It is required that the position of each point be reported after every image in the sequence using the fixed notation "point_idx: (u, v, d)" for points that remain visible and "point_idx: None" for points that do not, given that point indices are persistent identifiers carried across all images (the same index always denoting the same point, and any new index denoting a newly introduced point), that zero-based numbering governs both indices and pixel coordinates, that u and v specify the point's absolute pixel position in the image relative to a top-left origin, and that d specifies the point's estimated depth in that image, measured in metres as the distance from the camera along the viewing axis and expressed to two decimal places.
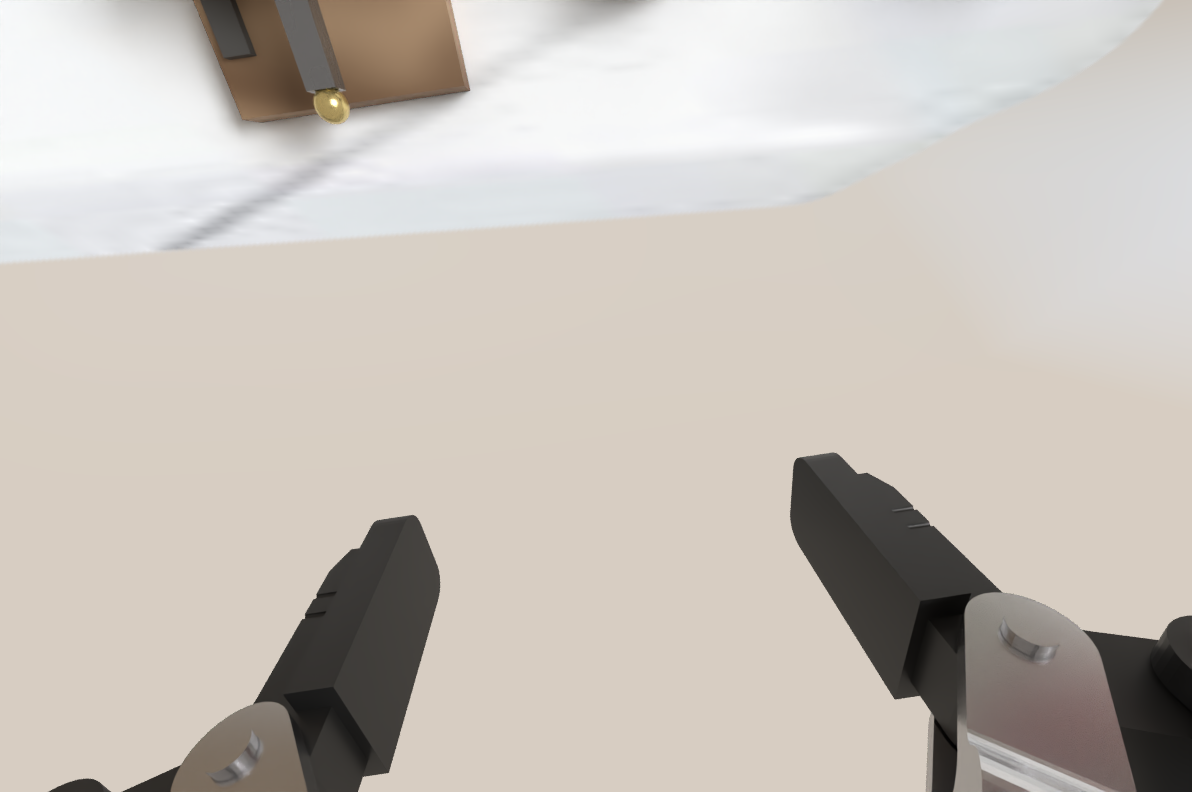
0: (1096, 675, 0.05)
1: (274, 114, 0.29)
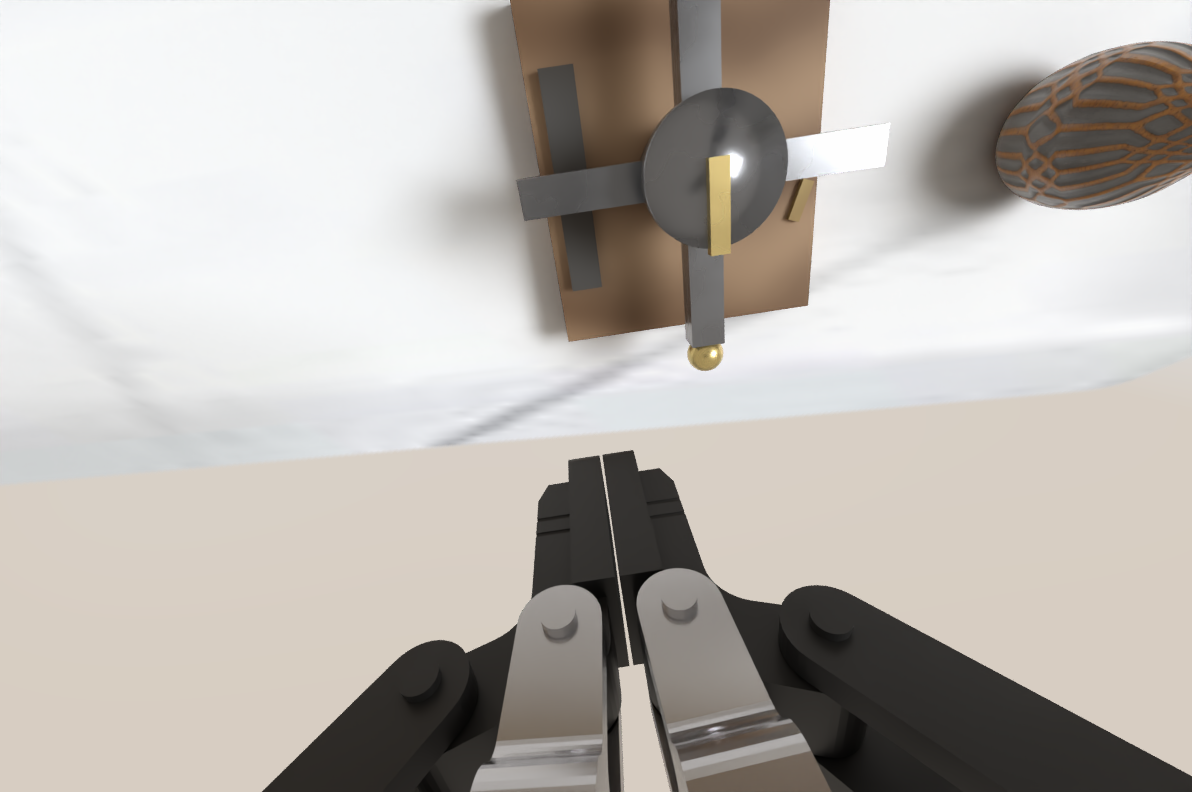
0: (708, 632, 0.06)
1: (602, 335, 0.27)
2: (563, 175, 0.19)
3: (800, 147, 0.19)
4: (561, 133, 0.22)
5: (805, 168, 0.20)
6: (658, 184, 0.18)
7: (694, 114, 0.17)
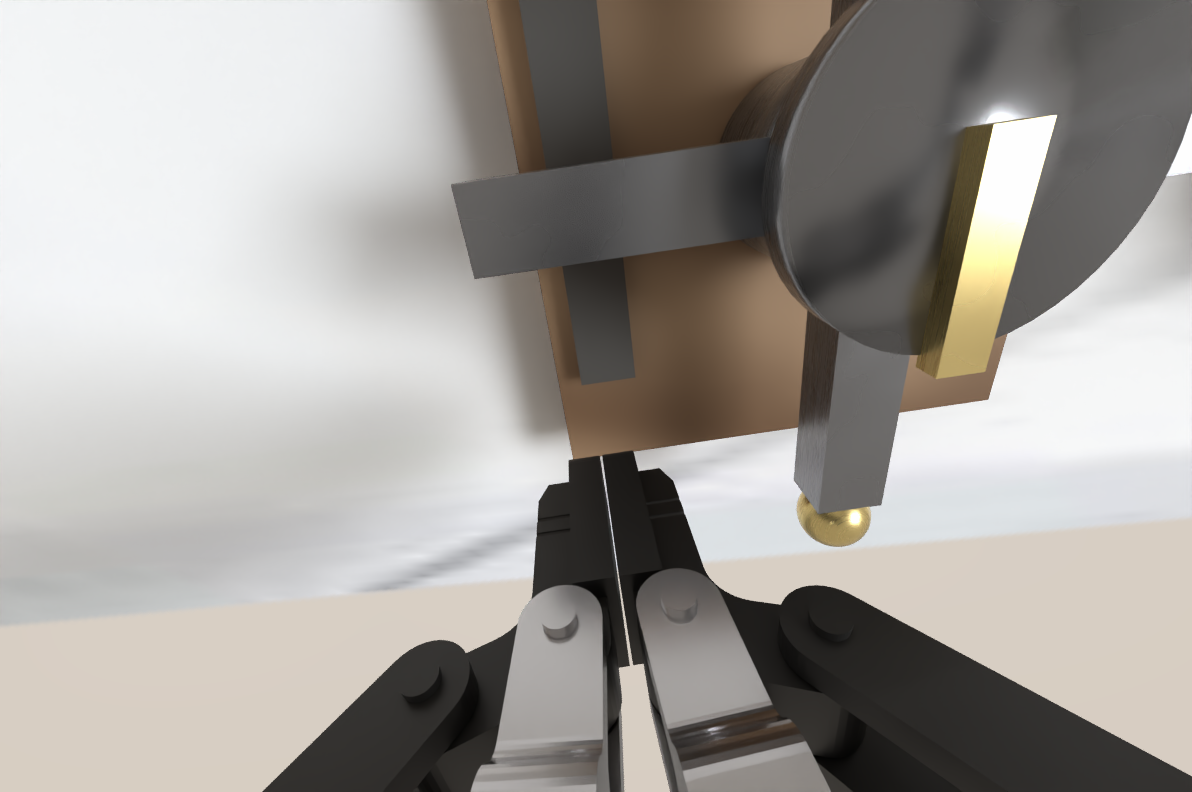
0: (708, 633, 0.06)
1: (631, 449, 0.16)
2: (565, 173, 0.08)
3: None
4: (561, 83, 0.10)
5: None
6: (825, 200, 0.07)
7: None
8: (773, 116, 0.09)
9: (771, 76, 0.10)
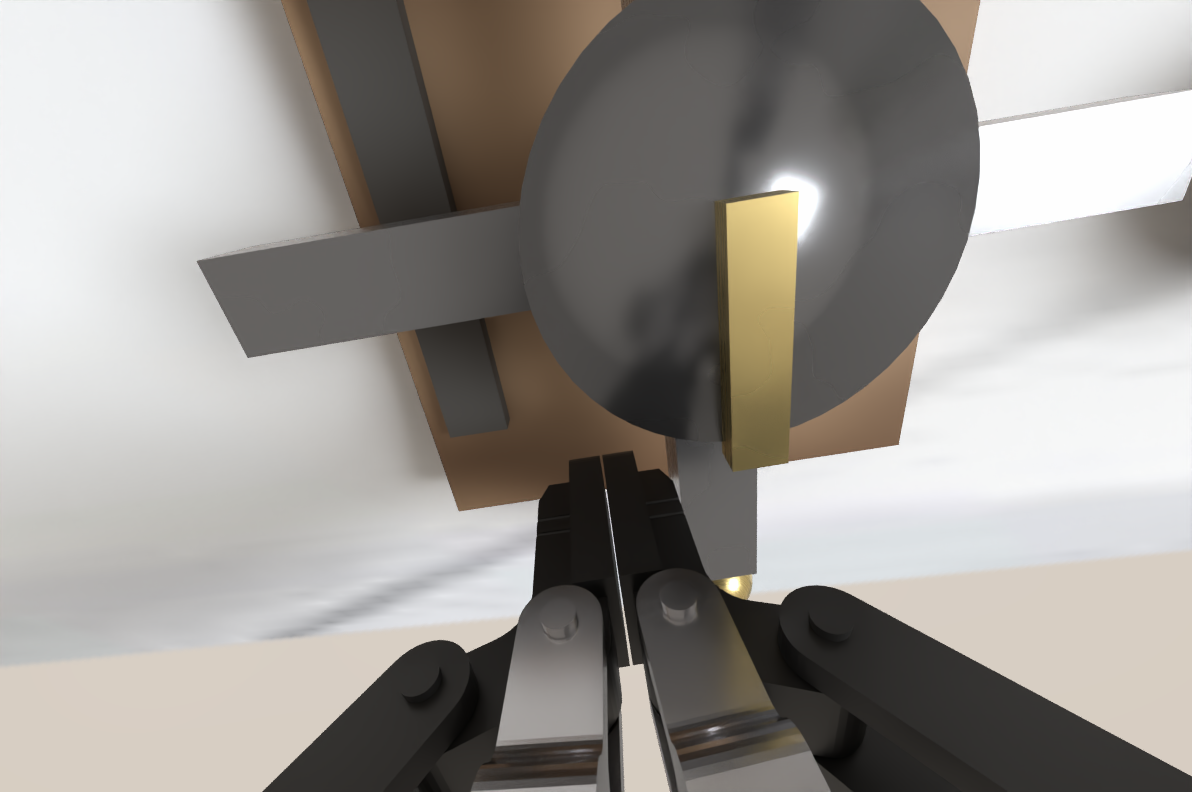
0: (708, 633, 0.06)
1: (520, 499, 0.15)
2: (325, 245, 0.07)
3: None
4: (381, 127, 0.10)
5: (977, 211, 0.07)
6: (567, 283, 0.06)
7: (672, 53, 0.05)
8: None
9: None
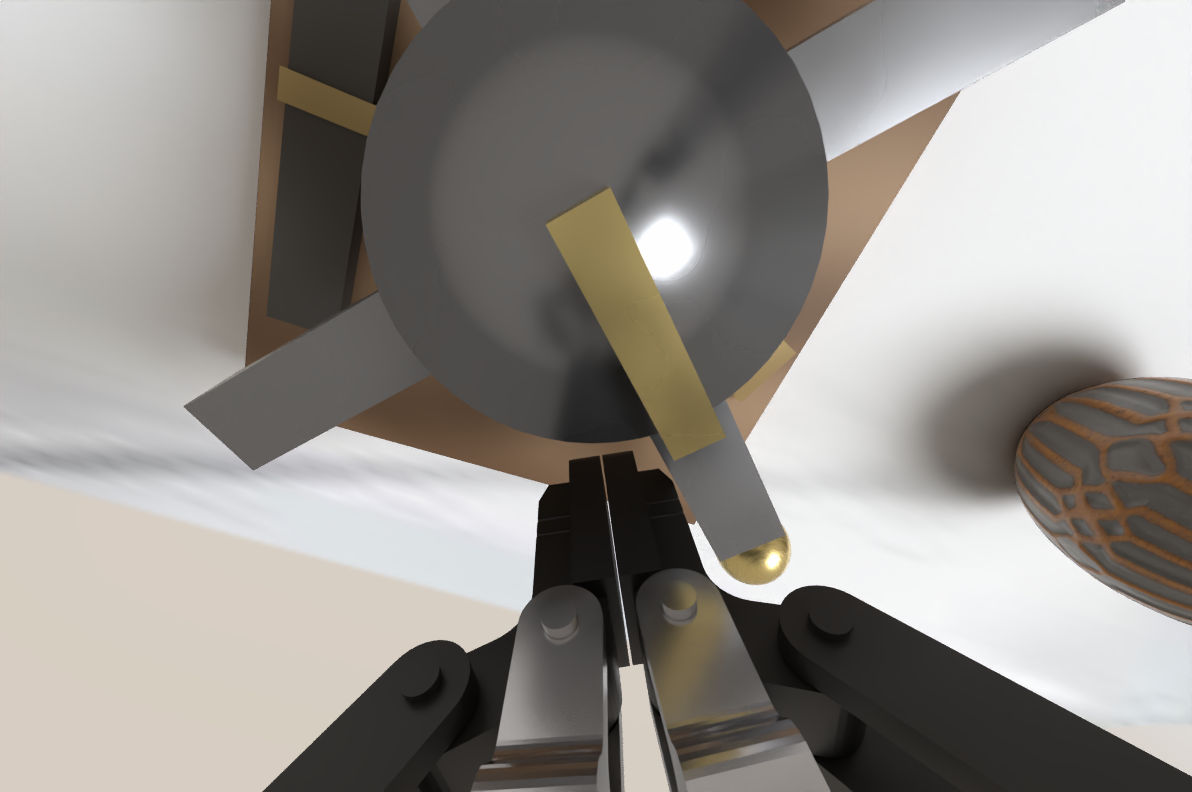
0: (707, 633, 0.06)
1: None
2: (272, 360, 0.08)
3: (839, 57, 0.06)
4: None
5: (871, 109, 0.07)
6: (450, 338, 0.06)
7: (445, 106, 0.05)
8: None
9: None
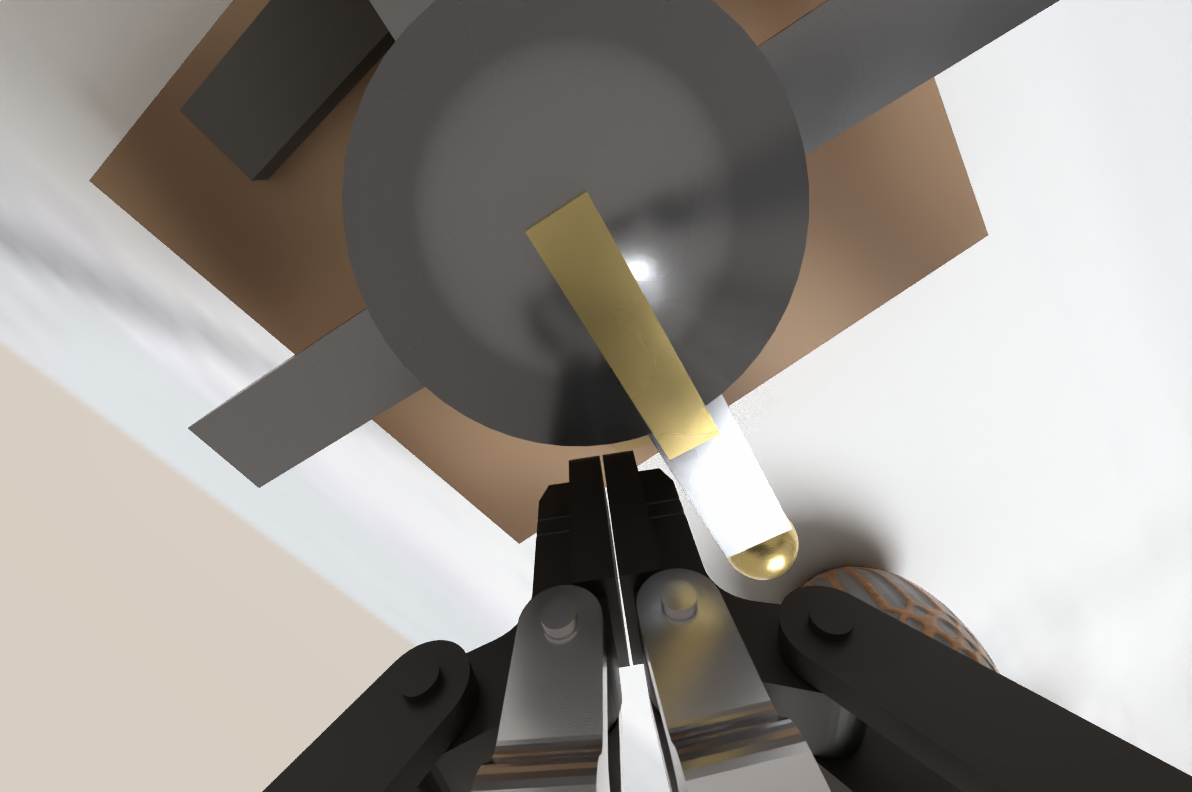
0: (708, 632, 0.06)
1: (179, 252, 0.11)
2: (271, 379, 0.08)
3: (816, 46, 0.06)
4: None
5: (851, 96, 0.07)
6: (440, 349, 0.06)
7: (420, 121, 0.05)
8: None
9: None
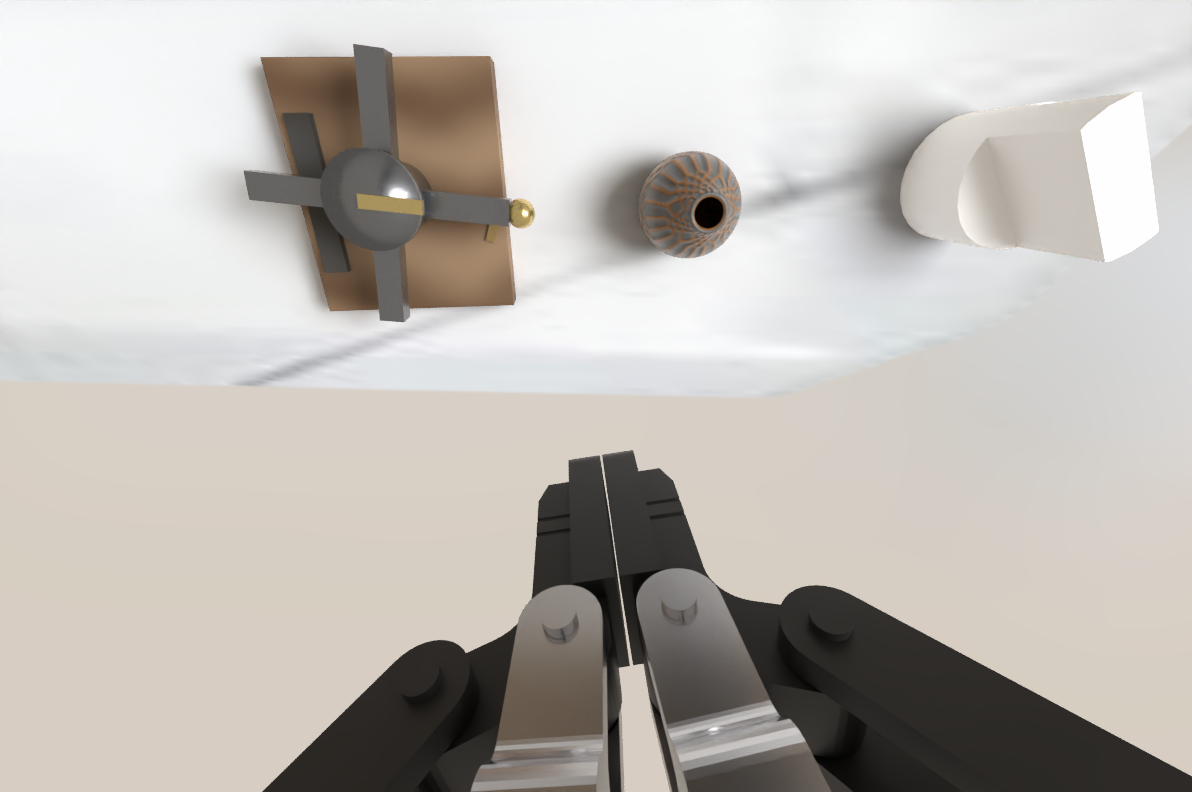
0: (708, 632, 0.06)
1: (357, 309, 0.36)
2: (378, 292, 0.31)
3: (367, 123, 0.27)
4: (304, 158, 0.31)
5: (382, 119, 0.27)
6: (376, 241, 0.28)
7: (335, 211, 0.27)
8: None
9: None
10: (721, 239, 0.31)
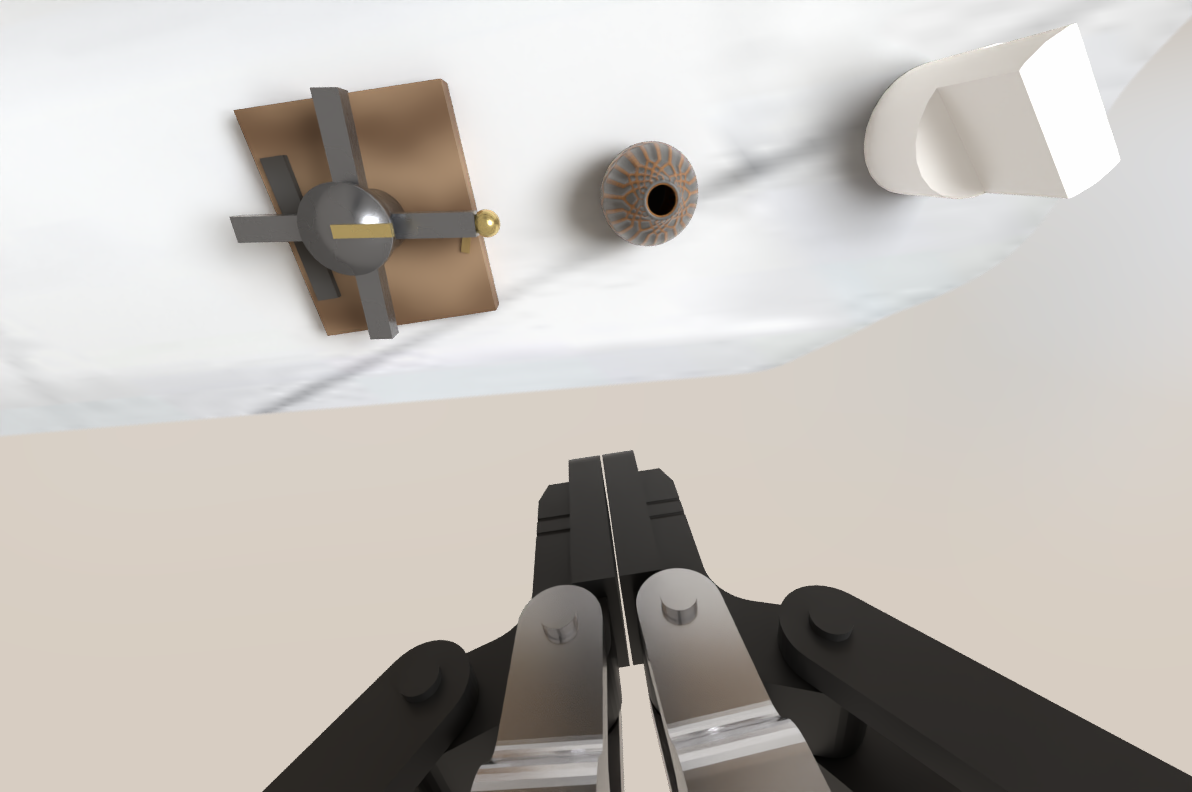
0: (708, 633, 0.06)
1: (351, 331, 0.38)
2: (365, 313, 0.33)
3: (333, 158, 0.29)
4: (285, 197, 0.33)
5: (345, 153, 0.29)
6: (354, 267, 0.30)
7: (314, 244, 0.30)
8: None
9: None
10: (681, 223, 0.32)
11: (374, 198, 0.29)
